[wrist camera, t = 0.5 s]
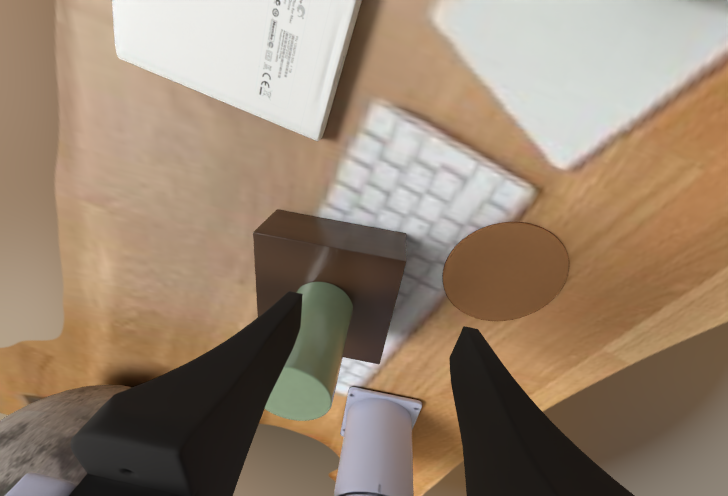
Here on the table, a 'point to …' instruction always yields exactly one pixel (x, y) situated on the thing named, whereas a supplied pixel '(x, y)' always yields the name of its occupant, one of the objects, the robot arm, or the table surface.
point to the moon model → (48, 435)
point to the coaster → (505, 271)
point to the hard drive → (245, 52)
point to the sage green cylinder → (314, 355)
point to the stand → (333, 271)
